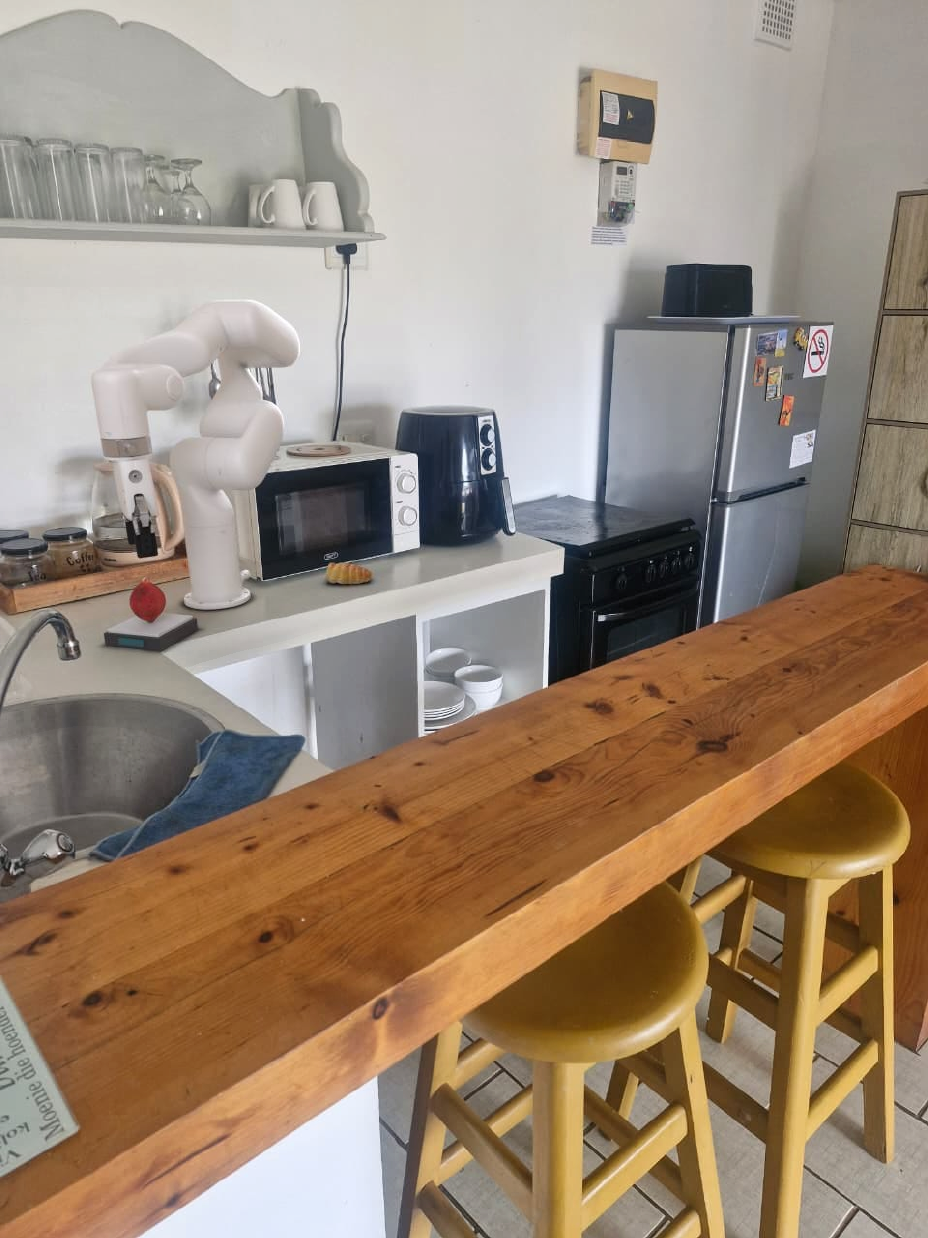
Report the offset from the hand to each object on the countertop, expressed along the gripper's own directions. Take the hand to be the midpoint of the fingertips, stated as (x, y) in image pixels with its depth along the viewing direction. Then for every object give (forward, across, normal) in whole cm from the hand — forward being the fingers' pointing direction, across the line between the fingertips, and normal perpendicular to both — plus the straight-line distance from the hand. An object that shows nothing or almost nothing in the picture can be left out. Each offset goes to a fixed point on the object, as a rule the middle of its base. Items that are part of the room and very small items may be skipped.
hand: (143, 549), depth 146 cm
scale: (+16, -1, +1) cm, 16 cm away
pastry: (+17, +15, -41) cm, 47 cm away
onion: (+13, -1, +1) cm, 13 cm away
